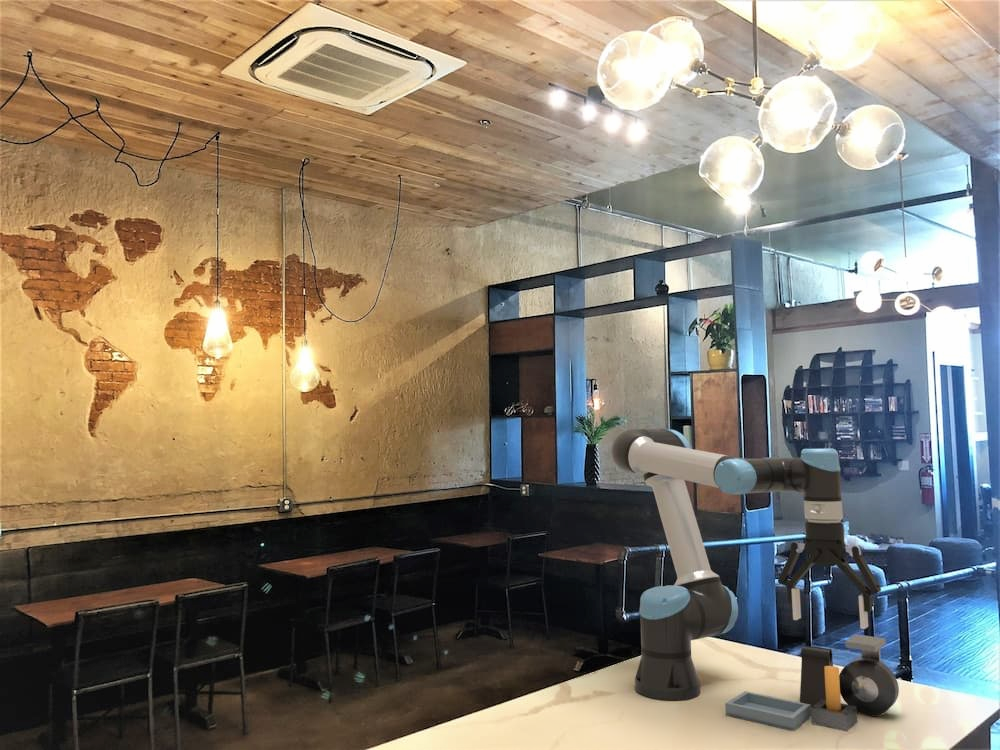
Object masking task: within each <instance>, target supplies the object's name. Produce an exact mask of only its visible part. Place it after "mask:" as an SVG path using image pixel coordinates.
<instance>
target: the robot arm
mask: <svg viewBox="0 0 1000 750" xmlns="http://www.w3.org/2000/svg"><path fill="white" fill-rule="evenodd" d="M610 453H611V458H612V461H613V462H614V464H615V465H616V466H617V467H618V468H619V469H620V470H621V471H624V472H625V473H626V472H627V473H632V474H637V475H642V476H643V479H644V484H646V485H647V486H649V487H651V488H652V490H653V494H654V497H655V501H656V502H655V503H656V505H657V509H658V512H659V517H660V520H661V523H662V526H663V531H664V533H665V537H666V541H667V544H668V548H669V551H670V552H669V553H670V556H671V558H672V563H673V565H674V566H673V567H674V571H675V572H676V577H677V578H676V581H675V583H674V584H673V585H670V584H669V585H665V586H663V585H658V586H654V587H651V588H649V589H647V590H645V591H643V592H642V594H641V596H640V599H639V600H640V601H639V603H640V604H639V621H640V644H641V645H640V646H641V656H640V660H639V663H638V667H637V670H636V673H635V677H634V690H635V691H636V692H637V693H639V694H640V695H642V696H645V697H648V698H651V699H656V700H664V701H682V700H690V699H693V698H696V697H698V696H699V695H701V682H700V681H701V680H700V679H699V676H698V673H697V670H696V667H695V664H694V662H693V661H694V660H693V659H692V658H693V657H692V641H695V640H700V639H704V638H705V639H706V638H709V637H713V638H714V637H716V636H720V635H722V634H725V633H728V632H729V631H730V630H731V629H733V627H734V626H735V623H736V622H737V619H738V616H739V606H738V605H739V604H738V601H737V598H736V595H735V594H734V592H733V591H732V590H730V589H729V588H728V586H725V585H723V584H722V581H721V577H720V575H719V574H718V573H715V572H714V571H713V570H712V569H711V565H710V562H709V559H708V556H707V555H708V554H707V553H706V548H705V545H704V542H703V538H702V535H701V532H700V528H699V525H698V522H697V518H696V515H695V511H694V508H693V505H692V502H691V498H690V494H689V491H688V487H687V484H686V481H687V482H691V483H697V484H700V485H706V486H709V487H713V488H719V489H720V490H721V491H722V492H723V493H725V494H729V495H737V496H738V495H739V496H741V495H742V496H743V495H745V494H746V495H747V494H758V493H759V494H761V493H775V492H776V493H777V492H778V493H779V492H790V493H791V492H794V493H795V492H798V493H802V494H803V495H802V496H803V507H804V518H805V519H806V520H807V521H805V523H804V528H805V529H804V530H805V540H806V541H805V543H801V542H800V541H797V540H796V541H794V542H791V544H790V553H789V555H788V557H787V560H786V562H785V564H784V565H783V568H782V570H781V573H780V575H779V577H778V579H777V583H778V585H782V586H785V587H786V590H787V591H786V592H787V601H788V603H789V604H791V605H792V606H791V607H792V608H791V609H792V620H793V621H798V620H799V619H802V610H801V609H802V608H801V592H800V587H798V586H797V584H798V583H799V582H800V581H801V580H802V578H803V577H804V576H805V575H806V574H807V573H808V572H809V570H810V569H811V568H812V567H813V565H817V566H827V567H835V566H836V567H837V568H838V569H840V570H841V571H842V573H843V574H844V575H845V576H846V577H847V578H848V579H849V580H850V581H851V583H852V584H853V585H854V586H855V587H856V589H858V591H859V592H860V594H859V595H858V608H859V609H858V610H859V626H860V629H861V630H865V629H867V628H868V627H869V619H868V617H869V616H868V613H871V612H872V610H873V599H872V596H873V595H876V594H878V593H880V592H881V591H882V589H881V586H880V584H879V582H878V581H877V579H876V577H875V576H874V574H873V572H872V570H871V569H870V567H869V565H868V563H867V561H866V560H865V557H864V555H863V550H862V546H861V545H859V544H857V545H854V546H853V545H852V546H846V543H845V532H844V523H843V521H842V522H841V520H843V519H844V517H843V516H844V514H843V513H844V512H843V500H842V492H841V467H840V460H839V459H840V458H839V452H838V451H837V450H836V449H835V448H832V447H831V448H803V449H802V450H801V452H800V457H774V456H772V457H770V456H769V457H763V458H762V457H761V458H760V457H759V458H745V457H744V458H743V457H738V456H733V455H731V456H730V455H726V454H720V453H715V452H709V451H704V450H701V449H700V450H699V449H695V448H694V449H692V448H691V446H690V443H689V442H688V439H687V438H686V437H685V436H684V435H683V434H682V433H681V432H679V431H677V430H675V429H669V428H663V427H662V428H631V429H627V430H624V431H622V432H621V433H619V434H618V435H616V437H615V438H614V440H613V441H612V445H611V451H610ZM803 551H805V552H806V553H807V555H808V557H807V558H806V559H805V560H804V561H803V564H801V565H800V567H799V569H797V570H796V572H794V574H793V575H792V571H793V570H794V568H795V566H796V563H797V561H798V559H799V557H800V553H803ZM847 553H848V554H849V556H850V557H852V558H853V560H854V563H855V564H856V566H857V568H858V570H859V571H860V573H861V575H862V577H863V579H864V580H863V579H862V578H861V577H860V575H859V574H858V573H857V572H856V570H855V569H853V567H852V566H851V565H850V563H849V562H848V560H846V558H845V556H846V554H847ZM791 575H792V577H791ZM790 577H791V578H790ZM789 578H790V579H789Z"/></svg>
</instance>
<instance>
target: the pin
mask: <svg viewBox="0 0 1000 750" xmlns="http://www.w3.org/2000/svg"><path fill="white" fill-rule="evenodd" d="M824 670H825V689H826V708H827V709H829V710H834V711H839V712H841V703H842V702H841V701H842V698H841V694H840V679H839V675H840V668H839V667H838V666H835V665H833V666H825V667H824Z"/></svg>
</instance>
